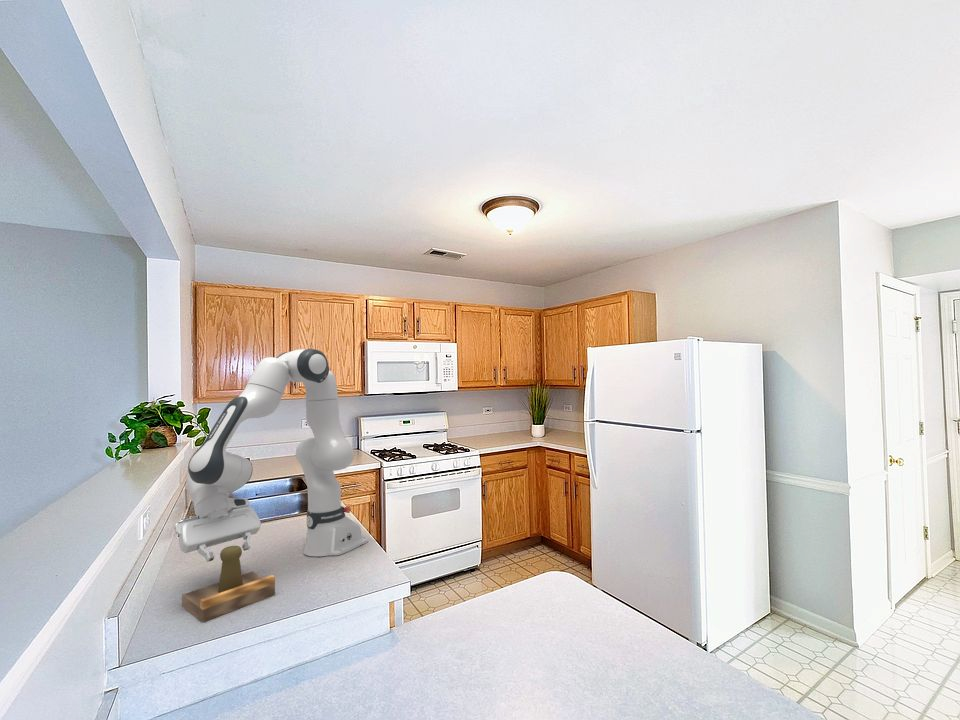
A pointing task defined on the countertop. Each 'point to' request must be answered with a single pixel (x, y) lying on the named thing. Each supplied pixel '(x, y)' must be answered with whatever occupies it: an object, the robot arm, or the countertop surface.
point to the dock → (227, 606)
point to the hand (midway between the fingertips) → (229, 554)
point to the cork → (230, 568)
